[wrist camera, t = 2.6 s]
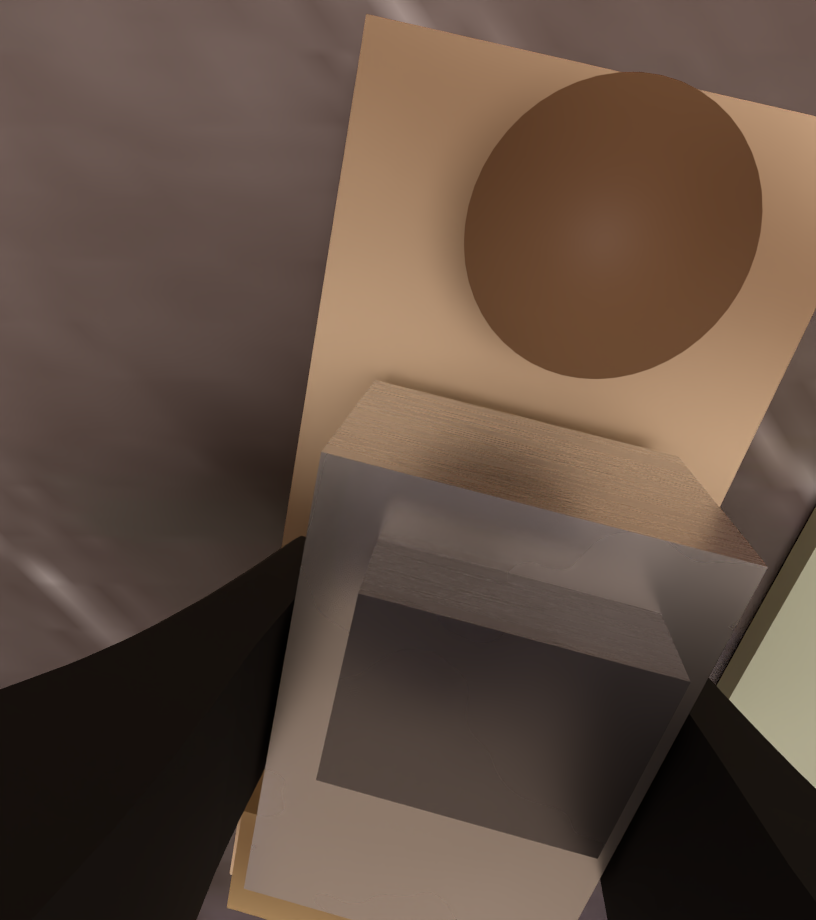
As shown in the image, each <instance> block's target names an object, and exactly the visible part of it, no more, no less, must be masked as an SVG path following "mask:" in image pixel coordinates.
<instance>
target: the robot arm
mask: <svg viewBox="0 0 816 920" xmlns="http://www.w3.org/2000/svg"><path fill="white" fill-rule="evenodd" d="M305 540H306V537H305V536H299V537H298V538H296V539H294V540H292V541H291V542H289V543H288V544H286V545H285V546H283V547H282V548H281V549H279V550H278V551H276V552H275V553H273V554H272V555H270V556H269V557H267V558H266V559H265V560H263V561H262V562H260V563H259V564H257V565H256V566H254V567H253V568H251V569H250V570H248V571H247V572H245V573H243V574H242V575H240V576H239V577H237V578H235V579H234V580H232V581H231V582H229V583H227V584H226V585H224V586H223V587H221V588H219V589H218V590H216V591H215V592H213V593H211V594H210V595H208V596H206V597H205V598H203V599H201V600H200V601H198V602H196V603H194V604H192V605H190V606H189V607H187V608H185V609H183V610H181V611H180V612H178V613H176V614H174V615H172V616H170V617H169V618H167V619H165V620H163V621H161V622H160V623H158V624H156V625H154V626H152V627H150V628H148V629H146V630H144V631H142V632H140V633H138V634H136V635H134V636H132V637H130V638H128V639H126V640H124V641H122V642H119V643H117V644H115V645H113V646H110V647H108V648H106V649H103V650H101V651H99V652H97V653H94V654H92V655H90V656H88V657H85V658H83V659H80V660H78V661H76V662H73V663H71V664H68V665H66V666H63V667H60V668H57V669H55V670H52V671H49V672H47V673H44V674H41V675H38V676H36V677H33V678H30V679H28V680H25V681H22V682H19V683H17V684H14V685H11V686H9V687H6V688H3V689H0V920H196V919H197V916H198V914H199V911H200V909H201V906H202V904H203V901H204V899H205V896H206V894H207V891H208V889H209V886H210V883H211V881H212V878H213V876H214V874H215V871H216V869H217V867H218V865H219V862H220V860H221V858H222V856H223V854H224V851H225V849H226V847H227V845H228V842H229V840H230V838H231V836H232V834H233V832H234V830H235V828H236V826H237V824H238V822H239V820H240V818H241V816H242V814H243V812H244V810H245V808H246V806H247V804H248V802H249V800H250V798H251V796H252V794H253V792H254V790H255V788H256V786H257V784H258V782H259V780H260V778H261V776H262V773H263V771H264V769H265V766H266V760H267V754H268V749H269V743H270V737H271V732H272V726H273V720H274V715H275V709H276V704H277V698H278V692H279V687H280V681H281V675H282V670H283V664H284V658H285V653H286V647H287V641H288V636H289V630H290V624H291V619H292V613H293V608H294V602H295V596H296V591H297V585H298V579H299V574H300V568H301V562H302V557H303V551H304V545H305ZM600 880H601V886H602V891H603V897H604V902H605V908H606V913H607V918H608V920H816V788H815V787H814V786H813V785H812V784H811V783H810V782H809V781H808V780H807V779H806V778H805V777H803V776H802V775H801V774H800V773H799V772H798V771H797V770H796V769H795V768H794V767H793V766H792V765H791V764H790V763H789V762H788V761H787V760H786V759H785V757H784V756H783V755H782V754H781V753H780V752H779V751H778V750H777V749H776V748H775V747H774V746H773V745H772V744H771V743H770V742H769V741H768V740H767V739H766V738H765V737H764V736H763V735H762V734H761V733H760V732H759V731H758V730H757V729H756V728H755V727H754V726H753V724H752V723H751V722H750V721H749V720H748V719H747V718H746V717H745V716H744V715H743V714H742V713H741V712H740V711H739V710H738V709H737V708H736V706H735V705H734V704H733V703H732V702H731V701H730V700H729V699H728V698H727V697H726V696H725V695H724V694H723V693H722V692H721V690H720V689H719V688H718V687H717V686H716V685H715V684H714V683H713V682H712V681H711V680H710V679H709V678H708V679H707V681H706V683H705V685H704V687H703V689H702V690H701V692H700V694H699V696H698V698H697V700H696V702H695V703H694V705H693V707H692V709H691V711H690V713H689V715H688V716H687V718H686V720H685V722H684V724H683V726H682V727H681V729H680V731H679V733H678V735H677V737H676V739H675V740H674V742H673V744H672V746H671V748H670V750H669V752H668V753H667V755H666V757H665V759H664V761H663V763H662V765H661V766H660V768H659V770H658V772H657V774H656V776H655V778H654V779H653V781H652V783H651V785H650V787H649V789H648V790H647V792H646V794H645V796H644V798H643V800H642V802H641V803H640V805H639V807H638V809H637V811H636V813H635V815H634V816H633V818H632V820H631V822H630V824H629V826H628V828H627V829H626V831H625V833H624V835H623V837H622V839H621V840H620V842H619V844H618V846H617V848H616V850H615V852H614V853H613V855H612V857H611V859H610V861H609V863H608V865H607V866H606V868H605V870H604V872H603V874H602V876H601V878H600Z"/></svg>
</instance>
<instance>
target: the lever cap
mask: <svg viewBox="0 0 816 920" xmlns="http://www.w3.org/2000/svg"><path fill="white" fill-rule="evenodd" d="M767 568H768V566H767V565H766V564H765V563H764V561H763V560H762V559H761V558H760V556H759V555H758V554H757V553H756V552H755V550H754V549H753V548H752V547H751V545H750V544H749V543H748V542H747V540H746V539H745V538H744V537H743V536H742V534H741V533H740V532H739V531H738V529H737V528H736V527H735V526H734V524H733V523H732V522H731V521H730V520H729V518H728V517H727V516H726V515H725V513H724V512H723V511H722V510H721V508H720V507H719V506H718V505H717V504H716V502H715V501H714V500H713V499H712V497H711V496H710V495H709V494H708V492H707V491H706V490H705V489H704V487H703V486H702V485H701V484H700V483H699V481H698V480H697V479H696V478H695V476H694V475H693V474H692V473H691V471H690V470H689V469H688V468H687V467H686V465H685V464H684V463H683V462H682V460H681V459H680V458H679V457H678V456H674V455H670V454H667V453H663V452H659V451H655V450H651V449H647V448H643V447H639V446H635V445H631V444H627V443H623V442H619V441H615V440H611V439H607V438H603V437H599V436H595V435H591V434H587V433H583V432H579V431H575V430H571V429H567V428H563V427H560V426H556V425H552V424H548V423H544V422H540V421H536V420H532V419H528V418H524V417H520V416H516V415H512V414H508V413H504V412H500V411H496V410H492V409H488V408H484V407H480V406H476V405H472V404H468V403H464V402H460V401H456V400H453V399H449V398H445V397H441V396H437V395H433V394H429V393H425V392H421V391H417V390H413V389H409V388H405V387H401V386H397V385H393V384H389V383H385V382H381V381H377V380H375V381H374V382H373V384H372V385H371V386H370V388H369V389H368V390H367V392H366V393H365V394H364V396H363V397H362V398H361V400H360V401H359V402H358V404H357V405H356V406H355V407H354V409H353V410H352V411H351V413H350V414H349V415H348V417H347V418H346V419H345V421H344V422H343V423H342V425H341V426H340V427H339V429H338V430H337V431H336V433H335V434H334V435H333V437H332V438H331V439H330V441H329V442H328V443H327V445H326V446H325V447H324V449H323V450H322V451H321V455H320V461H319V466H318V472H317V478H316V483H315V489H314V495H313V500H312V506H311V512H310V517H309V523H308V528H307V534H306V540H305V545H304V551H303V557H302V562H301V568H300V574H299V579H298V585H297V591H296V596H295V602H294V608H293V613H292V619H291V624H290V630H289V636H288V641H287V647H286V653H285V658H284V664H283V670H282V675H281V681H280V687H279V692H278V698H277V704H276V709H275V715H274V720H273V726H272V732H271V737H270V743H269V749H268V754H267V760H266V766H265V771H264V777H263V783H262V788H261V794H260V800H259V805H258V811H257V816H256V822H255V828H254V833H253V839H252V845H251V850H250V856H249V862H248V867H247V873H246V879H245V884H244V889H247V890H250V891H254V892H257V893H261V894H264V895H268V896H271V897H275V898H278V899H282V900H285V901H289V902H292V903H296V904H299V905H302V906H306V907H309V908H313V909H316V910H320V911H323V912H327V913H330V914H334V915H337V916H341V917H344V918H348V919H351V920H578V918H579V916H580V915H581V913H582V911H583V909H584V907H585V905H586V903H587V902H588V900H589V898H590V896H591V894H592V892H593V891H594V889H595V887H596V885H597V883H598V881H599V879H600V878H601V876H602V874H603V872H604V870H605V868H606V866H607V865H608V863H609V861H610V859H611V857H612V855H613V853H614V852H615V850H616V848H617V846H618V844H619V842H620V840H621V839H622V837H623V835H624V833H625V831H626V829H627V828H628V826H629V824H630V822H631V820H632V818H633V816H634V815H635V813H636V811H637V809H638V807H639V805H640V803H641V802H642V800H643V798H644V796H645V794H646V792H647V790H648V789H649V787H650V785H651V783H652V781H653V779H654V778H655V776H656V774H657V772H658V770H659V768H660V766H661V765H662V763H663V761H664V759H665V757H666V755H667V753H668V752H669V750H670V748H671V746H672V744H673V742H674V740H675V739H676V737H677V735H678V733H679V731H680V729H681V727H682V726H683V724H684V722H685V720H686V718H687V716H688V715H689V713H690V711H691V709H692V707H693V705H694V703H695V702H696V700H697V698H698V696H699V694H700V692H701V690H702V689H703V687H704V685H705V683H706V681H707V679H708V677H709V676H710V674H711V672H712V670H713V668H714V666H715V664H716V663H717V661H718V659H719V657H720V655H721V653H722V652H723V650H724V648H725V646H726V644H727V642H728V640H729V639H730V637H731V635H732V633H733V631H734V629H735V627H736V626H737V624H738V622H739V620H740V618H741V616H742V614H743V613H744V611H745V609H746V607H747V605H748V603H749V601H750V600H751V598H752V596H753V594H754V592H755V590H756V589H757V587H758V585H759V583H760V581H761V579H762V577H763V576H764V574H765V572H766V570H767Z"/></svg>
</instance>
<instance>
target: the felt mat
mask: <svg viewBox="0 0 816 920" xmlns="http://www.w3.org/2000/svg"><path fill="white" fill-rule="evenodd" d="M717 687H718V688H719V689H720V690H721V692H722V693H723V694H724V695H725V696H726V697H727V698H728V699H729V700H730V701H731V702H732V703H733V704H734V705H735V706H736V708H737V709H738V710H739V711H740V712H741V713H742V714H743V715H744V716H745V717H746V718H747V719H748V720H749V721H750V722H751V723H752V724H753V726H754V727H755V728H756V729H757V730H758V731H759V732H760V733H761V734H762V735H763V736H764V737H765V738H766V739H767V740H768V741H769V742H770V743H771V744H772V745H773V746H774V747H775V748H776V749H777V750H778V751H779V752H780V753H781V754H782V755H783V756H784V757H785V759H786V760H787V761H788V762H789V763H790V764H791V765H792V766H793V767H794V768H795V769H796V770H797V771H798V772H799V773H800V774H801V775H802V776H803V777H805V778H806V779H807V780H808V781H809V782H810V783H811V784H812V785H813V786H814V787H815V788H816V507H815V509H814V511H813V512H812V514H811V516H810V518H809V520H808V521H807V523H806V525H805V527H804V529H803V530H802V532H801V534H800V536H799V538H798V539H797V541H796V543H795V545H794V547H793V549H792V550H791V552H790V554H789V556H788V558H787V559H786V561H785V563H784V565H783V567H782V568H781V570H780V572H779V574H778V576H777V577H776V579H775V581H774V583H773V585H772V586H771V588H770V590H769V592H768V594H767V595H766V597H765V599H764V601H763V603H762V604H761V606H760V608H759V610H758V612H757V613H756V615H755V617H754V619H753V621H752V622H751V624H750V626H749V628H748V630H747V631H746V633H745V635H744V637H743V639H742V641H741V642H740V644H739V646H738V648H737V650H736V651H735V653H734V655H733V657H732V659H731V660H730V662H729V664H728V666H727V668H726V669H725V671H724V673H723V675H722V677H721V678H720V680H719V682H718V684H717Z"/></svg>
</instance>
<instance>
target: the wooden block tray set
mask: <svg viewBox="0 0 816 920" xmlns="http://www.w3.org/2000/svg"><path fill="white" fill-rule="evenodd" d="M815 309H816V116H812V115H807V114H803V113H799V112H794V111H790V110H785V109H781V108H777V107H772V106H768V105H763V104H759V103H755V102H750V101H746V100H742V99H737V98H733V97H728V96H724V95H720V94H715V93H711V92H706V91H702V90H698V89H696V88H694V87H692V86H690V85H688V84H686V83H684V82H682V81H679V80H676V79H672V78H669V77H666V76H663V75H657V74H650V73H644V72H619V71H614V70H610V69H606V68H601V67H597V66H592V65H588V64H584V63H579V62H575V61H571V60H566V59H562V58H557V57H553V56H549V55H544V54H540V53H535V52H531V51H527V50H522V49H518V48H514V47H509V46H505V45H500V44H496V43H492V42H487V41H483V40H478V39H474V38H470V37H465V36H461V35H457V34H452V33H448V32H443V31H439V30H435V29H430V28H426V27H421V26H417V25H413V24H408V23H404V22H400V21H395V20H391V19H386V18H382V17H378V16H373V15H369V14H366V19H365V26H364V32H363V38H362V45H361V51H360V57H359V63H358V70H357V76H356V82H355V89H354V95H353V101H352V107H351V114H350V120H349V126H348V133H347V139H346V145H345V151H344V158H343V164H342V170H341V177H340V183H339V189H338V195H337V202H336V208H335V214H334V221H333V227H332V233H331V239H330V246H329V252H328V258H327V265H326V271H325V277H324V283H323V290H322V296H321V302H320V309H319V315H318V321H317V328H316V334H315V340H314V346H313V353H312V359H311V365H310V372H309V378H308V384H307V390H306V397H305V403H304V409H303V416H302V422H301V428H300V434H299V441H298V447H297V453H296V460H295V466H294V472H293V478H292V485H291V491H290V497H289V504H288V510H287V516H286V522H285V529H284V535H283V541H282V547H283V546H285V545H286V544H288V543H289V542H291V541H292V540H294V539H296V538H298V537H299V536H305V537H306V534H307V528H308V523H309V517H310V512H311V506H312V500H313V495H314V489H315V483H316V478H317V472H318V466H319V461H320V455H321V451H322V450H323V449H324V447H325V446H326V445H327V443H328V442H329V441H330V439H331V438H332V437H333V435H334V434H335V433H336V431H337V430H338V429H339V427H340V426H341V425H342V423H343V422H344V421H345V419H346V418H347V417H348V415H349V414H350V413H351V411H352V410H353V409H354V407H355V406H356V405H357V404H358V402H359V401H360V400H361V398H362V397H363V396H364V394H365V393H366V392H367V390H368V389H369V388H370V386H371V385H372V384H373V382H374V381H375V380H377V381H381V382H385V383H389V384H393V385H397V386H401V387H405V388H409V389H413V390H417V391H421V392H425V393H429V394H433V395H437V396H441V397H445V398H449V399H453V400H456V401H460V402H464V403H468V404H472V405H476V406H480V407H484V408H488V409H492V410H496V411H500V412H504V413H508V414H512V415H516V416H520V417H524V418H528V419H532V420H536V421H540V422H544V423H548V424H552V425H556V426H560V427H563V428H567V429H571V430H575V431H579V432H583V433H587V434H591V435H595V436H599V437H603V438H607V439H611V440H615V441H619V442H623V443H627V444H631V445H635V446H639V447H643V448H647V449H651V450H655V451H659V452H663V453H667V454H670V455H674V456H678V457H679V458H680V459H681V460H682V462H683V463H684V464H685V465H686V467H687V468H688V469H689V470H690V471H691V473H692V474H693V475H694V476H695V478H696V479H697V480H698V481H699V483H700V484H701V485H702V486H703V487H704V489H705V490H706V491H707V492H708V494H709V495H710V496H711V497H712V499H713V500H714V501H715V502H716V504H717V505H718V506H719V507H720V506H721V504H722V501H723V499H724V497H725V495H726V493H727V491H728V489H729V487H730V485H731V483H732V481H733V479H734V477H735V475H736V472H737V470H738V468H739V466H740V464H741V462H742V460H743V458H744V456H745V454H746V452H747V450H748V448H749V446H750V443H751V441H752V439H753V437H754V435H755V433H756V431H757V429H758V427H759V425H760V423H761V421H762V419H763V416H764V414H765V412H766V410H767V408H768V406H769V404H770V402H771V400H772V398H773V396H774V394H775V392H776V390H777V387H778V385H779V383H780V381H781V379H782V377H783V375H784V373H785V371H786V369H787V367H788V365H789V363H790V361H791V358H792V356H793V354H794V352H795V350H796V348H797V346H798V344H799V342H800V340H801V338H802V336H803V334H804V332H805V329H806V327H807V325H808V323H809V321H810V319H811V317H812V315H813V313H814V311H815ZM264 771H265V769H264ZM264 771H263V773H262V776H261V778H260V780H259V782H258V784H257V786H256V788H255V790H254V792H253V794H252V796H251V798H250V800H249V802H248V804H247V806H246V808H245V810H244V812H243V814H242V816H241V818H240V820H239V822H238V824H237V831H236V837H235V843H234V850H233V856H232V862H231V868H230V874H231V875H232V879H231V885H230V891H229V897H228V903H227V908H230V909H233V910H237V911H240V912H244V913H247V914H250V915H254V916H257V917H261V918H264V919H267V920H351V919H348V918H344V917H341V916H337V915H334V914H330V913H327V912H323V911H320V910H316V909H313V908H309V907H306V906H302V905H299V904H296V903H292V902H289V901H285V900H282V899H278V898H275V897H271V896H268V895H264V894H261V893H257V892H254V891H250V890H247V889H244V884H245V879H246V873H247V867H248V862H249V856H250V850H251V845H252V839H253V833H254V828H255V822H256V816H257V811H258V805H259V800H260V794H261V788H262V783H263V777H264Z"/></svg>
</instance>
